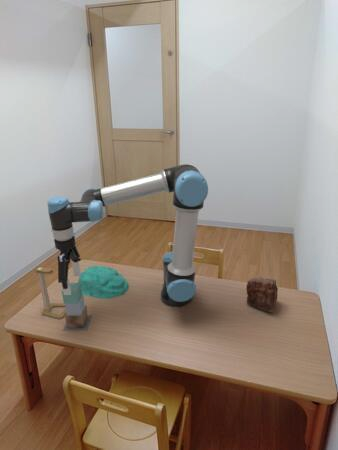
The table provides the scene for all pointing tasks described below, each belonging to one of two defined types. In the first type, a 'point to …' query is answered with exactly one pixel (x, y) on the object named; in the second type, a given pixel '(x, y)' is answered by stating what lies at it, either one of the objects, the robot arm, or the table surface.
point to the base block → (77, 320)
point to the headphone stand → (47, 304)
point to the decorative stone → (102, 282)
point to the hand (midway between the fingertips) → (72, 284)
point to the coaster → (79, 328)
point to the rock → (262, 293)
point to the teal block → (73, 294)
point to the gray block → (75, 308)
